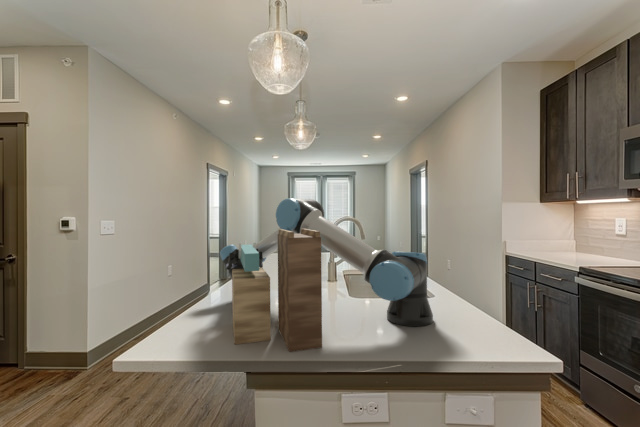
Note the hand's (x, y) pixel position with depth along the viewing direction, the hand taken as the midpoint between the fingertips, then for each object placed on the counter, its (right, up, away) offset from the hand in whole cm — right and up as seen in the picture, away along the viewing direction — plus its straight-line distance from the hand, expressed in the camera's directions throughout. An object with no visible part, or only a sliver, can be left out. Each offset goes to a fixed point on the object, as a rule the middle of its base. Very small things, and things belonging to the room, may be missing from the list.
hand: (247, 247), depth 107 cm
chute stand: (+18, -25, -13) cm, 33 cm away
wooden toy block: (+2, -25, -7) cm, 26 cm away
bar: (+1, -5, -3) cm, 6 cm away
